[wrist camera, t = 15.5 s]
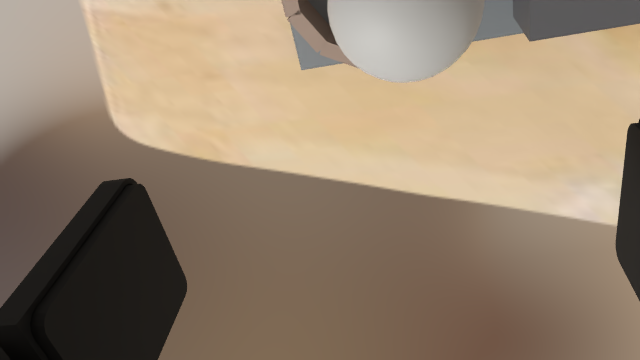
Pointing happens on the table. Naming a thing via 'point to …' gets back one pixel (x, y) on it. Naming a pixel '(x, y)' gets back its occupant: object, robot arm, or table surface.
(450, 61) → the lightbulb
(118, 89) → the table surface
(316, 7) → the panel
